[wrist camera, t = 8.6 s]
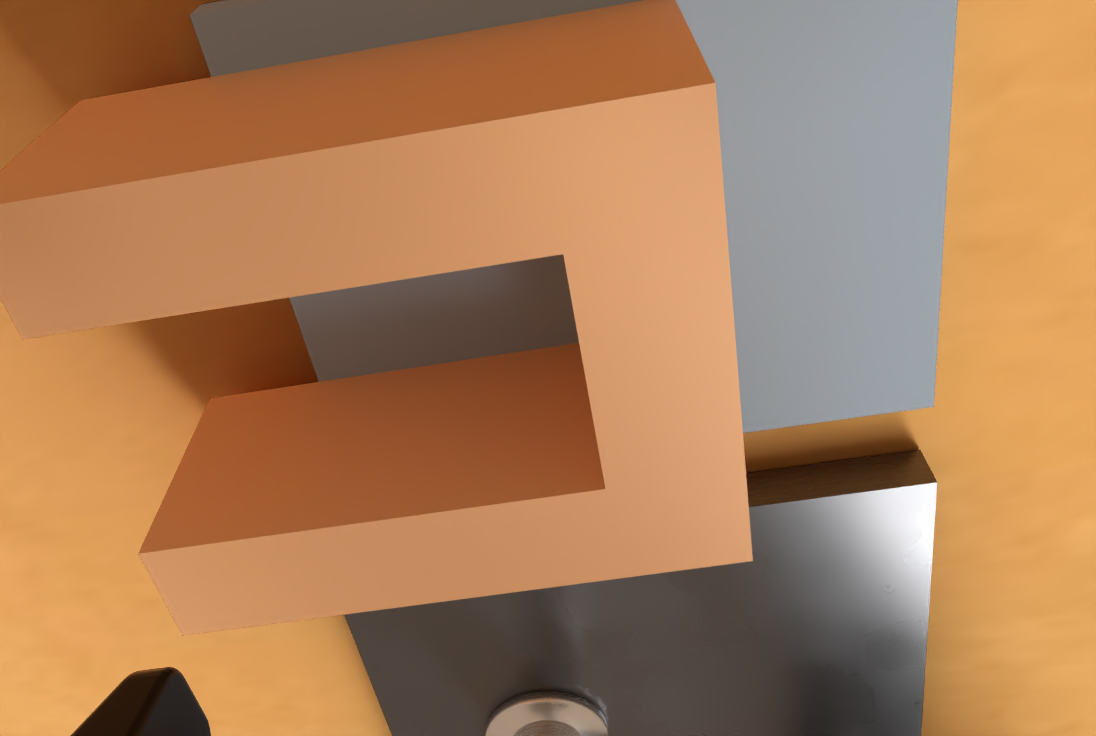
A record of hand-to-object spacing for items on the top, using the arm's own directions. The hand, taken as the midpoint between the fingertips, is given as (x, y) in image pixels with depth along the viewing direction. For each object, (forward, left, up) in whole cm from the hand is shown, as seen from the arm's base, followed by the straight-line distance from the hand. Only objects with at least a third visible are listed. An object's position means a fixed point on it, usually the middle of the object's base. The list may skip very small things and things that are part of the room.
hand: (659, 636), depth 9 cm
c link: (0, +3, -9) cm, 9 cm away
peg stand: (-12, 0, -9) cm, 15 cm away
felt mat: (0, 0, -9) cm, 9 cm away
